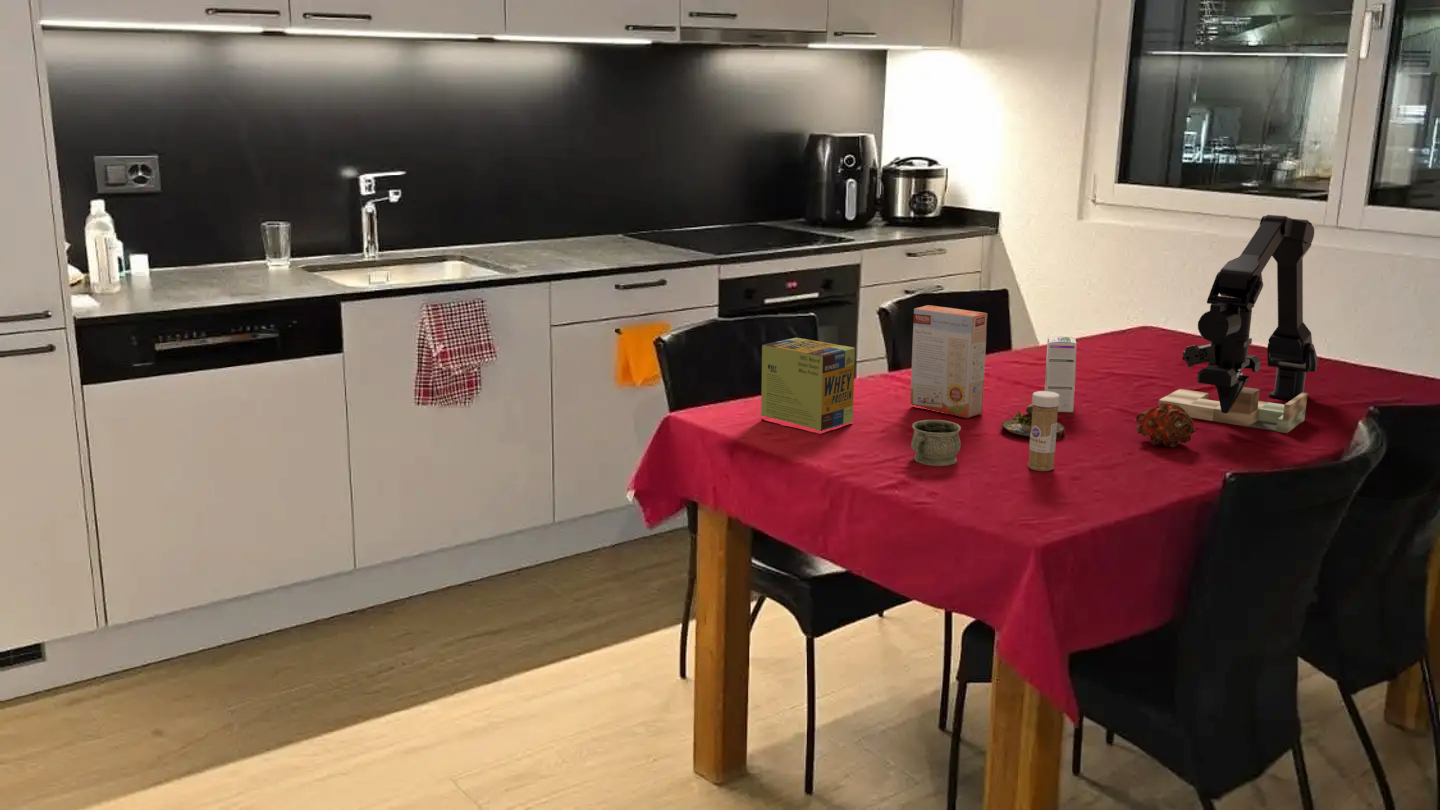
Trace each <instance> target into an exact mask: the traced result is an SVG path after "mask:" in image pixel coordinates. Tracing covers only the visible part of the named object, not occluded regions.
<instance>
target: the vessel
mask: <svg viewBox="0 0 1440 810" xmlns="http://www.w3.org/2000/svg"><path fill="white" fill-rule="evenodd" d="M912 429H913V435H912V437H911V438H912V439H911V442H910V443H911V444H910V445H911V449H912V450H913V451H914V453H915V455H914V458H913V460H914V461H915V462H917V463H918V462H919V464H921V463H922V464H921V465H926V466H932V467H933V466H935V467H944V466H945V467H946V466H951V465H954V464H956V463H957V460H958V459H957V457H956V455H957V454H958V453H959V452H960V451H961V439H960V435H959V432H960V431H961V430H962V427H961V425H959V423H955V422H952V421H949V420H942V419H924V420H917V421H915V422H913V423H912Z"/></svg>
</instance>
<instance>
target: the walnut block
mask: <svg viewBox="0 0 1440 810" xmlns="http://www.w3.org/2000/svg"><path fill="white" fill-rule="evenodd" d="M1260 392H1261V391H1260V389H1259V388H1254V387H1253V388H1252V387H1245V386H1244V387H1243V389H1242V391H1241V392H1240V394H1239V396H1238V397H1237V399H1236V401H1235V402H1234V404H1233V406H1232V407H1231V409H1230V411H1232V412H1239V413H1245V414H1251V413H1252V412H1254V411H1255V410H1257V409H1258V401H1260Z"/></svg>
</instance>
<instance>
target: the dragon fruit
mask: <svg viewBox="0 0 1440 810" xmlns="http://www.w3.org/2000/svg"><path fill="white" fill-rule="evenodd" d="M1135 419H1136V420H1135V422H1136V423H1137V425H1136V432H1137V433H1138V434H1141V435H1142V436H1144V437H1146V436H1149V438H1150V439H1149V440H1150V443H1151V444H1152V445H1153V446H1158V445H1160V444H1163V445H1164V446H1166V447H1168V448H1169V447H1170V448H1176V447H1177V446H1178V444H1179V443H1180V444H1186V443H1188V442H1190V441H1191V437H1192V436H1191V435H1192V434H1194V433H1196V432H1197V431H1196V429H1195V428H1194V421H1193V418H1191V417H1190V416H1189V415H1188V414H1187V413H1186V412H1185V410H1184V409H1182V408H1181V407H1180V406H1179V405H1177V404H1172V405H1171V404H1169V403H1160V406H1158V405H1157V406H1156V407H1153V408H1148V409H1147V410H1146V411H1144V412H1140V413H1138V415H1137V416H1136V417H1135ZM1138 424H1139V425H1138Z"/></svg>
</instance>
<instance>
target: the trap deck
mask: <svg viewBox="0 0 1440 810" xmlns="http://www.w3.org/2000/svg"><path fill="white" fill-rule="evenodd" d="M1209 393H1210V392H1209ZM1209 393H1208V392H1203V391H1196V390H1192V389H1191V390H1189V389H1184V388H1179V389H1177V390H1175V391H1172V392H1171V393H1169V394H1168V395H1167V394H1166V395H1165V396H1164V397H1161V398H1160V399H1158V403H1157V404H1158V405H1157V406H1160V403H1169V404H1171V405H1172V404H1177V405H1179V406H1180V407H1181V408H1182V409H1184V410H1185V412H1186V413H1187V414H1188V415H1189V416H1190V417H1191V419H1198V420H1199V419H1200V420H1204V421H1210V422H1217V423H1224V424H1229V425H1235V426H1241V427H1247V428H1254V429H1259V430H1265V431H1266V430H1267V431H1271V432H1277V433H1285V434H1288V433H1289V432H1291V431H1292V430H1293V429H1294V428H1296V427H1297V426H1298V425H1300V424H1301V423H1303V422H1304V421H1305V420H1306V419H1305V417H1306V411H1307V410H1306V409H1307V402H1308V396H1307V394H1308V395H1309V392H1305V393H1301V394H1299V395H1298V396H1296V397H1295V398H1293V399H1292V400H1291V399H1289V401H1288V402H1286V403H1284V404H1282V403H1275V402H1269V401H1262V400H1259V401H1258V409H1257V410H1255V411H1254V412H1252V413H1251V414H1245V413H1239V412H1232V411H1229V412H1228V413H1222V412H1221V407H1220V402H1219V400H1212V399H1209Z"/></svg>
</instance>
